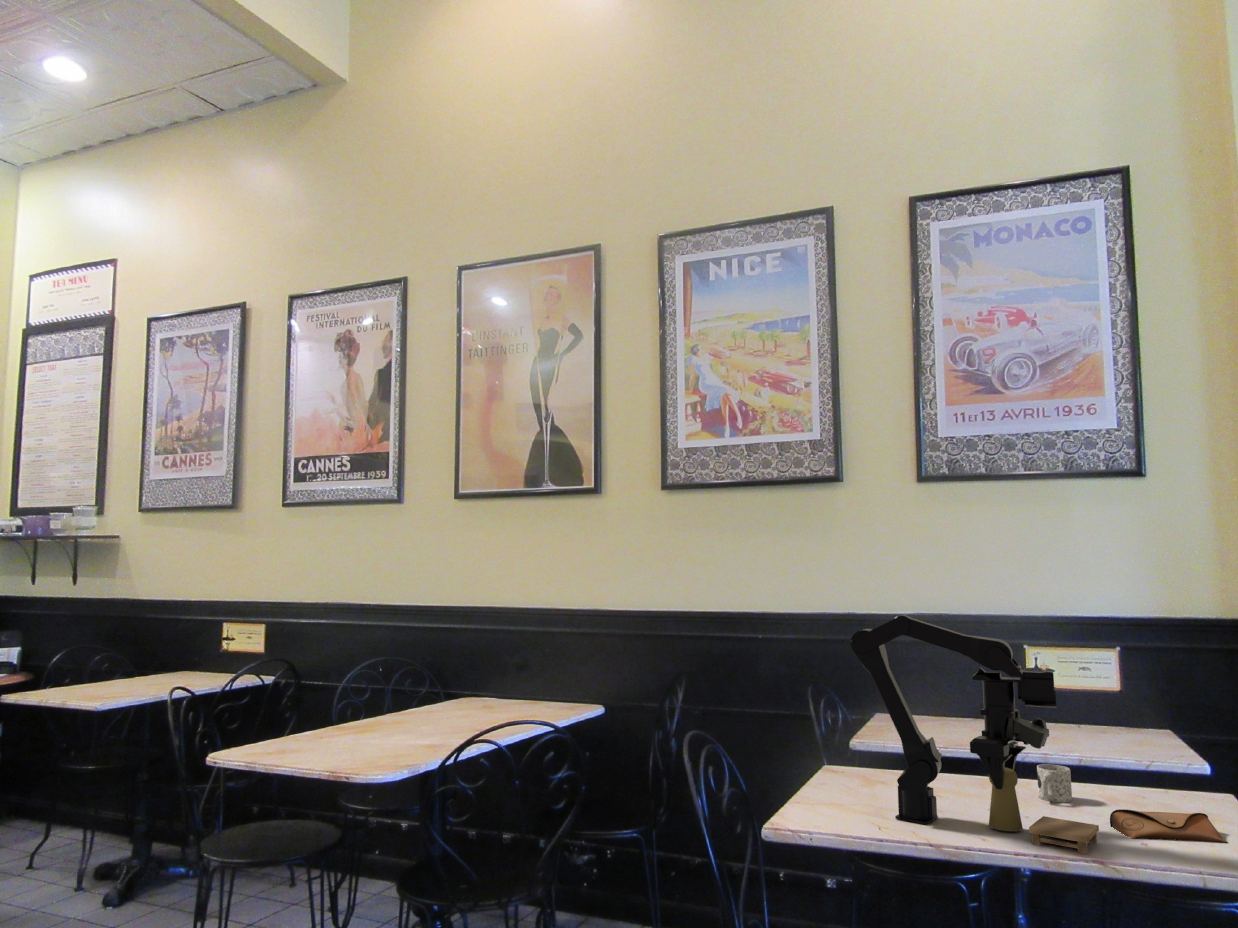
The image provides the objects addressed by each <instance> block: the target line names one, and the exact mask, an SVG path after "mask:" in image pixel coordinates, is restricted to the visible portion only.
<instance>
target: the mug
mask: <svg viewBox="0 0 1238 928" xmlns="http://www.w3.org/2000/svg"><path fill="white" fill-rule="evenodd" d="M1036 775H1037V791H1038V798H1039V799H1040V800H1042V801H1045V800H1046V802H1050V801H1052V802H1051V803H1063V804H1064V803H1071V802H1073V794H1072V793H1073V791H1072V789H1073V788H1072V777H1071V776H1072V775H1071V768H1070V767H1068V766H1064V765H1059V764H1058V765H1057V764H1048V763H1047V764H1044V763H1042V764H1038V765H1036ZM1070 801H1071V802H1070Z"/></svg>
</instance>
